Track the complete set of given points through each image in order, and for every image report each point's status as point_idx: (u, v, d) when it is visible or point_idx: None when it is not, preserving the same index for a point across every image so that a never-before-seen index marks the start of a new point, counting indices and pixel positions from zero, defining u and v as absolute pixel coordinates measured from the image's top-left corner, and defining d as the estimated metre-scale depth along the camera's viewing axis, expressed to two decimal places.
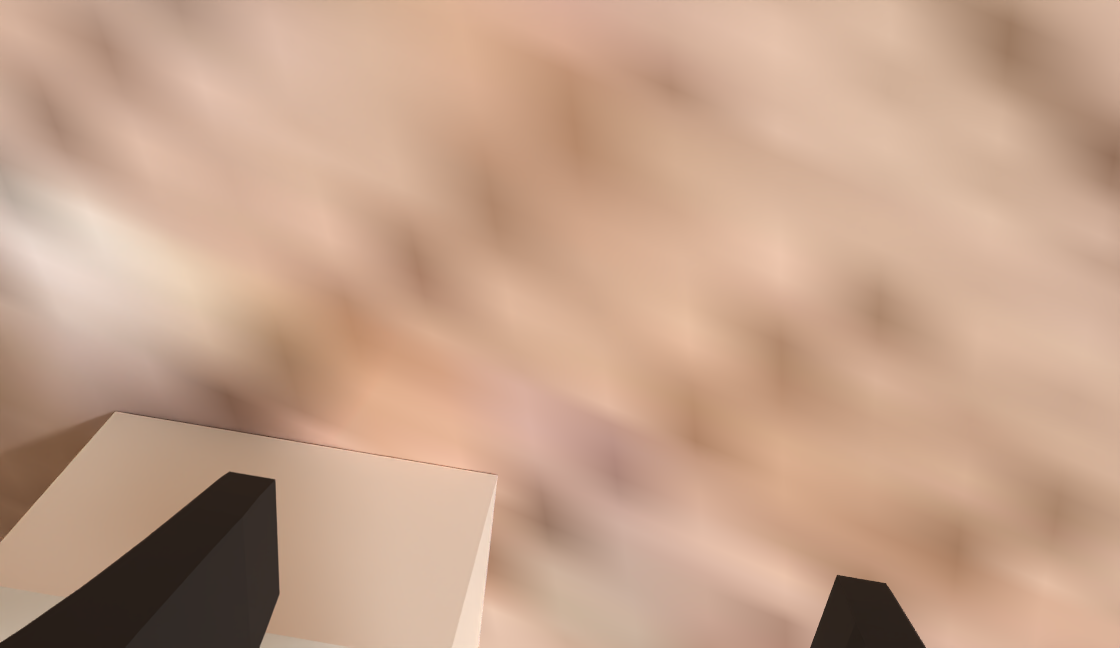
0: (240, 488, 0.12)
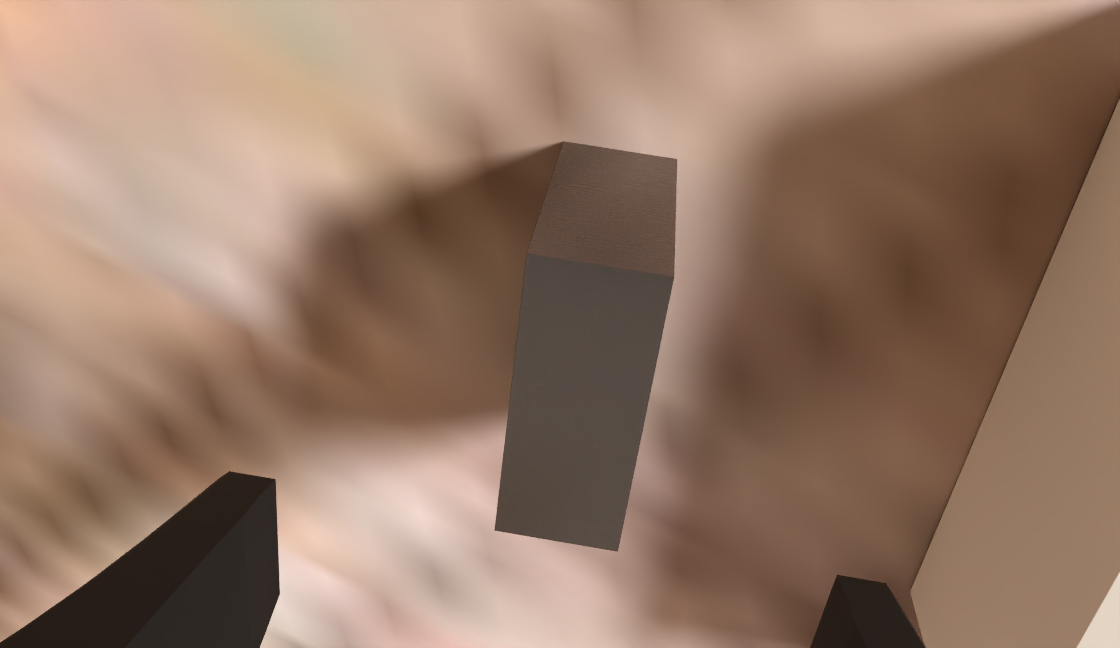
0: (240, 487, 0.12)
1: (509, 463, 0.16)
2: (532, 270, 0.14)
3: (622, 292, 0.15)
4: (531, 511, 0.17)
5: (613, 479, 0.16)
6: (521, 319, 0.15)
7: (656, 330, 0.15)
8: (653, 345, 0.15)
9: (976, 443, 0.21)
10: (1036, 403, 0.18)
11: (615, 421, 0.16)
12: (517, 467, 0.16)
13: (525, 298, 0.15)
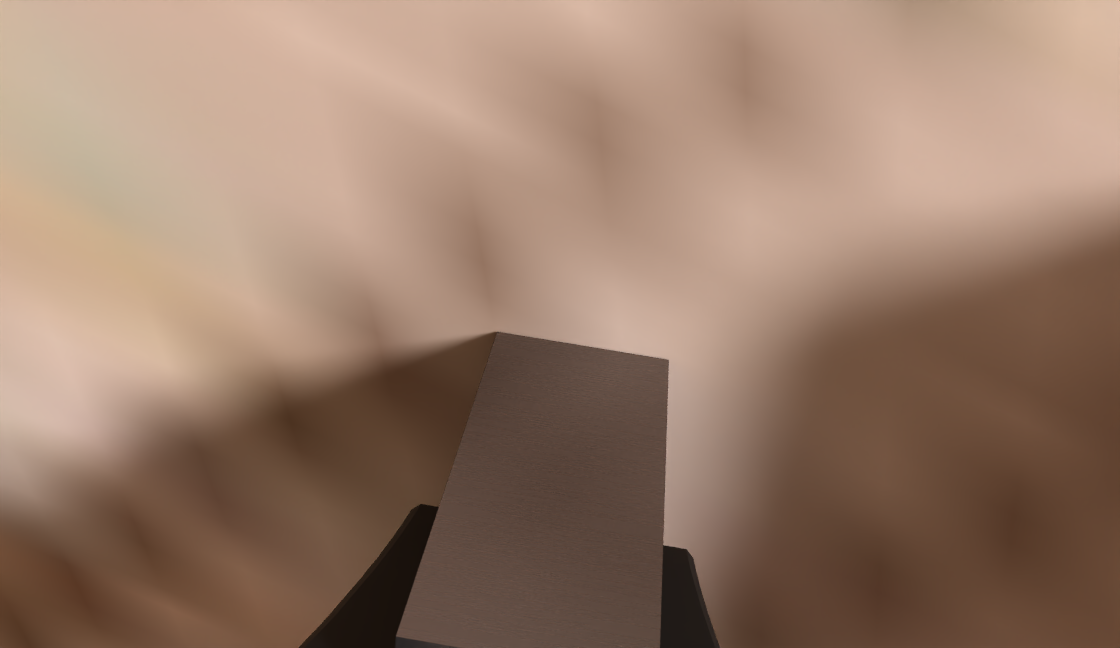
0: None
1: None
2: None
3: None
4: None
5: None
6: None
7: None
8: None
9: None
10: None
11: None
12: None
13: None
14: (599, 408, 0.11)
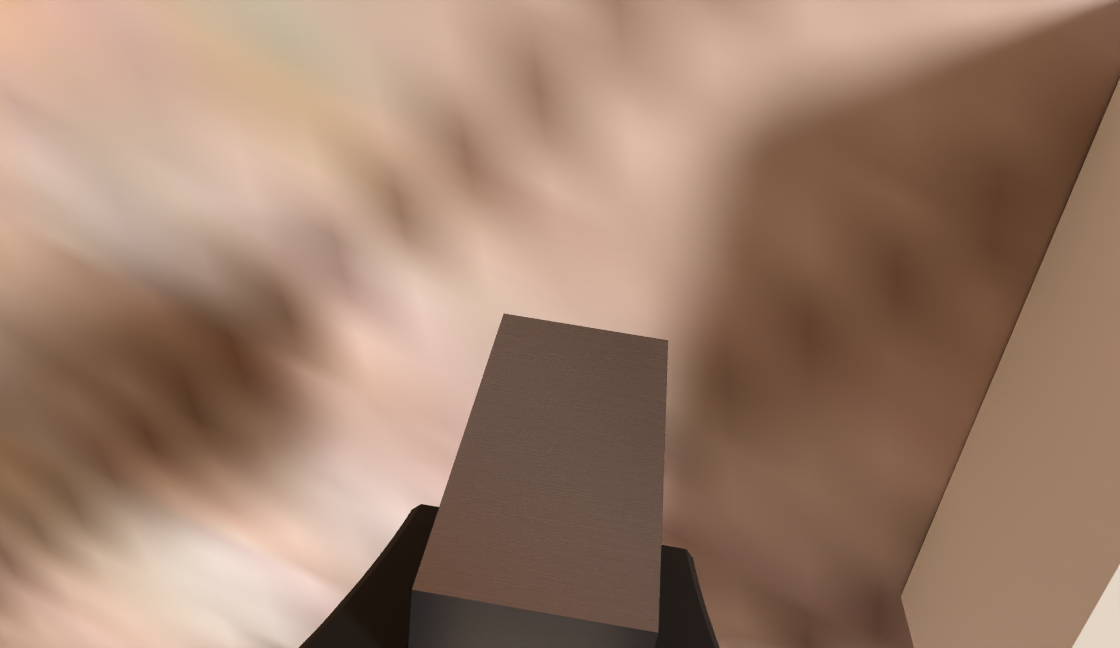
0: None
1: None
2: (423, 614, 0.09)
3: None
4: None
5: None
6: None
7: None
8: None
9: (967, 447, 0.20)
10: (1027, 407, 0.18)
11: None
12: None
13: None
14: (601, 384, 0.12)
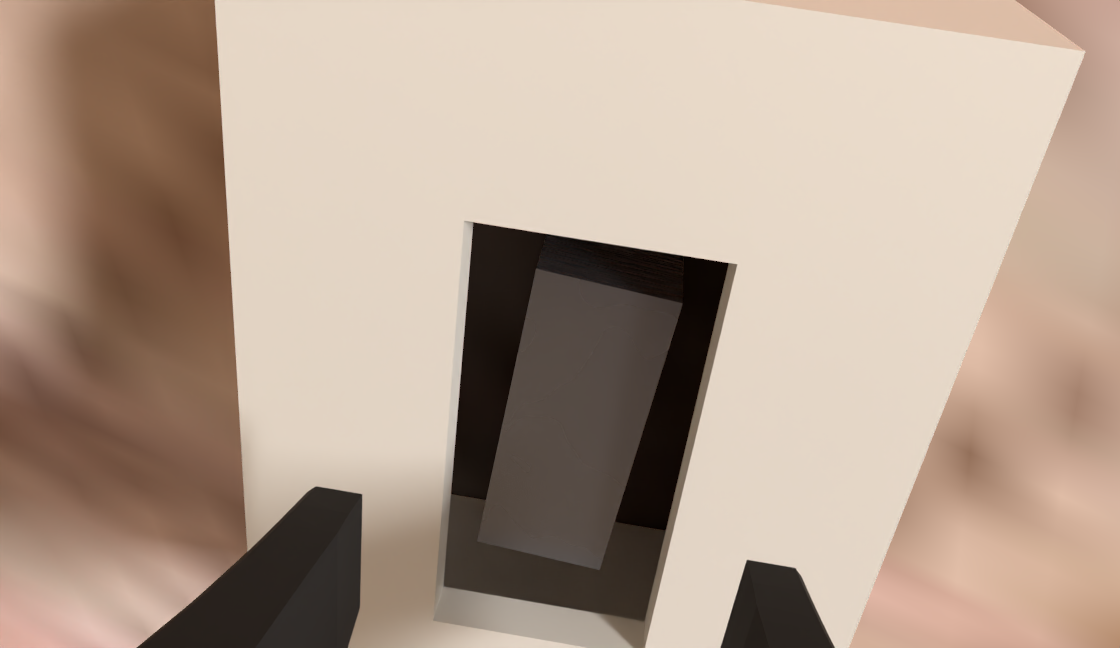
0: (330, 503, 0.12)
1: (498, 476, 0.16)
2: (540, 286, 0.14)
3: (629, 315, 0.14)
4: (516, 525, 0.17)
5: (602, 499, 0.16)
6: (524, 334, 0.15)
7: (660, 354, 0.15)
8: (655, 369, 0.15)
9: None
10: None
11: (609, 441, 0.16)
12: (505, 480, 0.16)
13: (530, 313, 0.15)
14: None
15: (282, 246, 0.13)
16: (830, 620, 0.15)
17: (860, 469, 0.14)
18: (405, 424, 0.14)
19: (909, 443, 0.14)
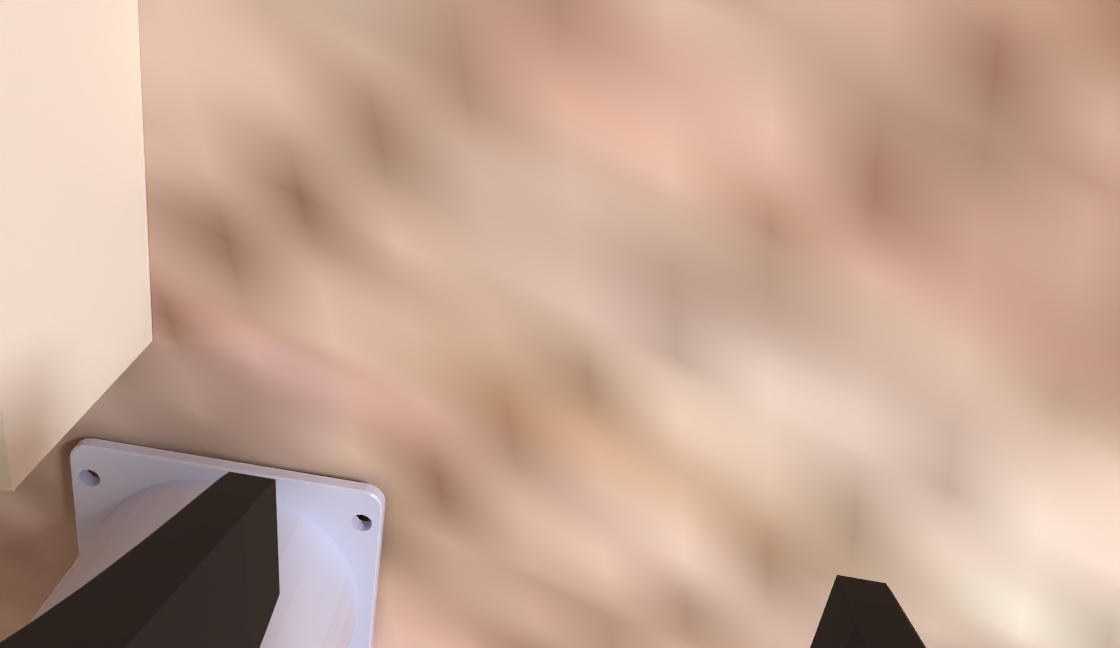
0: (240, 487, 0.12)
1: None
2: None
3: None
4: None
5: None
6: None
7: None
8: None
9: None
10: None
11: None
12: None
13: None
14: None
15: None
16: None
17: None
18: None
19: None
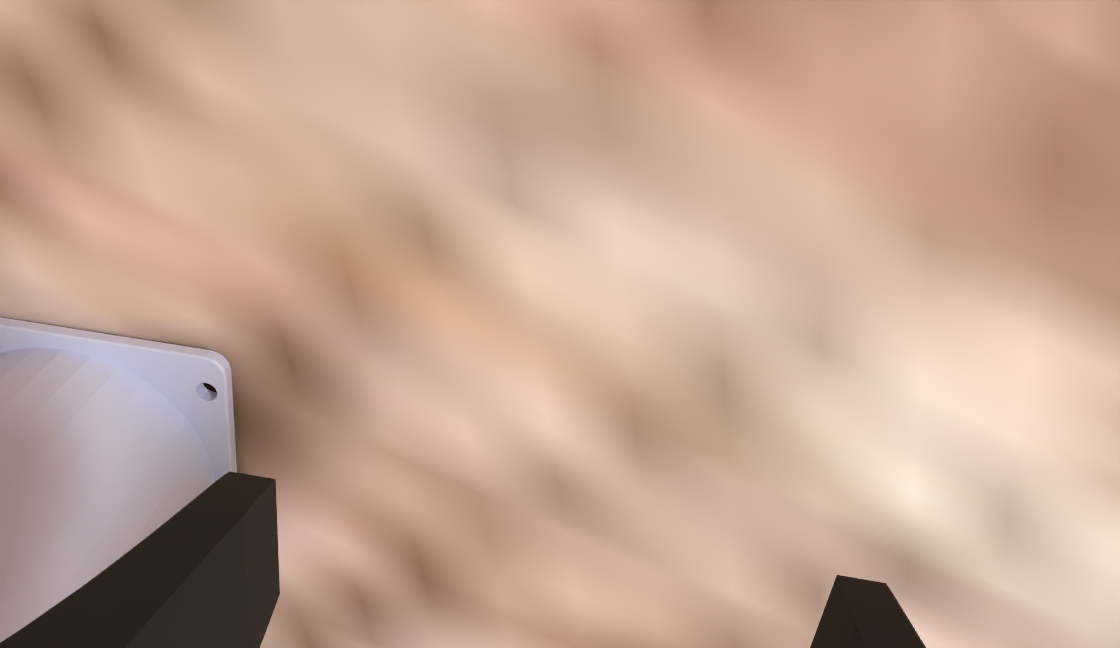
0: (240, 488, 0.12)
1: None
2: None
3: None
4: None
5: None
6: None
7: None
8: None
9: None
10: None
11: None
12: None
13: None
14: None
15: None
16: None
17: None
18: None
19: None
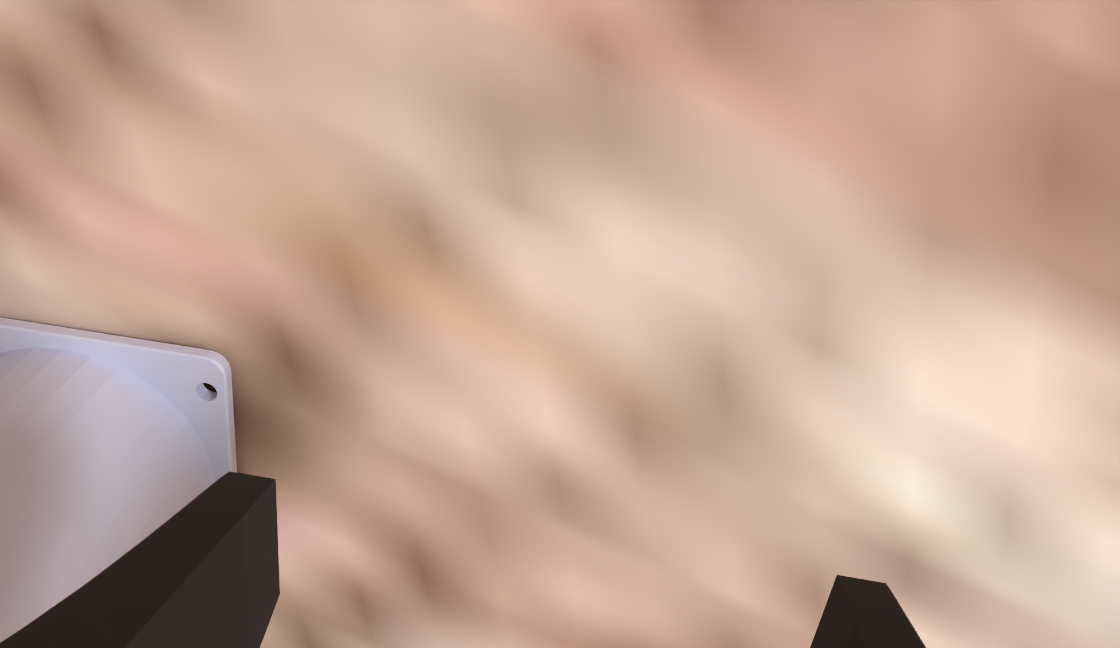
0: (240, 488, 0.12)
1: None
2: None
3: None
4: None
5: None
6: None
7: None
8: None
9: None
10: None
11: None
12: None
13: None
14: None
15: None
16: None
17: None
18: None
19: None
